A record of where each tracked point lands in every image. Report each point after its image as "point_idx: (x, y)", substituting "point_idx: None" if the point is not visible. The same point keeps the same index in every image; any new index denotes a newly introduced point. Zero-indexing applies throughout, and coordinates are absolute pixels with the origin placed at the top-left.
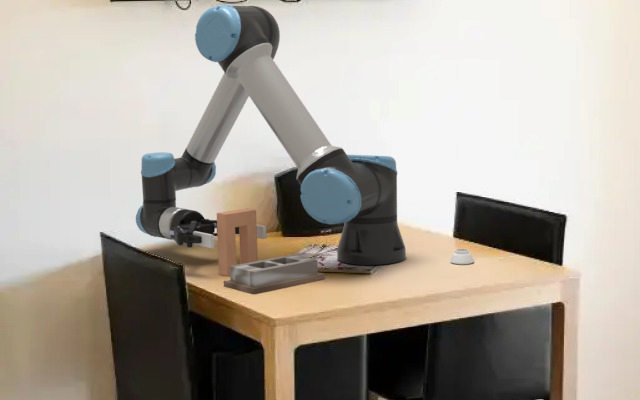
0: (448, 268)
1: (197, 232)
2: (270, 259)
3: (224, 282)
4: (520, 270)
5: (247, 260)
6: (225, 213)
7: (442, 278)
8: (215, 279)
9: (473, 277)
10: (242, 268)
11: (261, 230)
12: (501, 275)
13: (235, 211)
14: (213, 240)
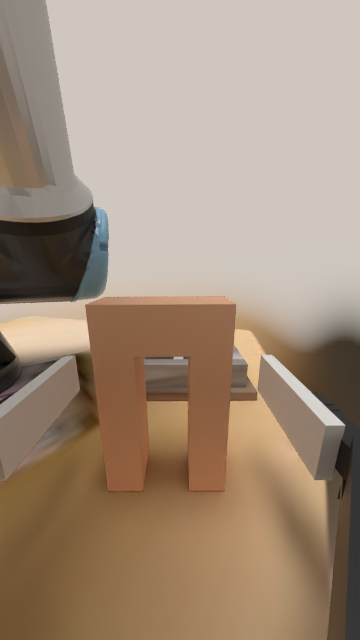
0: (25, 339)
1: (316, 399)
2: (164, 362)
3: (256, 393)
4: (26, 324)
5: (147, 432)
6: (213, 298)
7: (73, 331)
8: (255, 446)
9: (62, 326)
10: (235, 352)
11: (71, 372)
12: (49, 323)
13: (165, 300)
14: (260, 370)
